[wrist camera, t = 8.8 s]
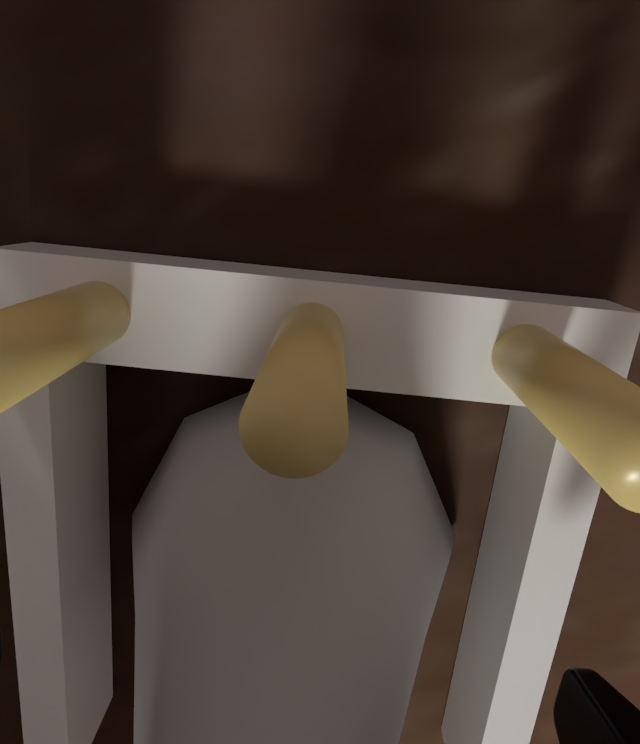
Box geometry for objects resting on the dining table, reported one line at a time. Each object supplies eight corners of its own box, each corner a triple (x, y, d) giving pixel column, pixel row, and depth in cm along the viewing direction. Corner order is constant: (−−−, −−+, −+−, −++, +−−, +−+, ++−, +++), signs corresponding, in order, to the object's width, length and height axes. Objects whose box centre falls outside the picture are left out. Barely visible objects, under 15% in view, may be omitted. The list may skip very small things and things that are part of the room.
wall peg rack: (495, 733, 15) (593, 1063, 9) (57, 690, 15) (-114, 993, 9) (605, 299, 11) (877, 398, 6) (31, 242, 11) (-278, 282, 6)
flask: (305, 309, 12) (169, 779, 2) (506, 532, 13) (950, 1397, 4) (84, 504, 13) (-561, 1275, 4) (285, 684, 15) (193, 1568, 5)
